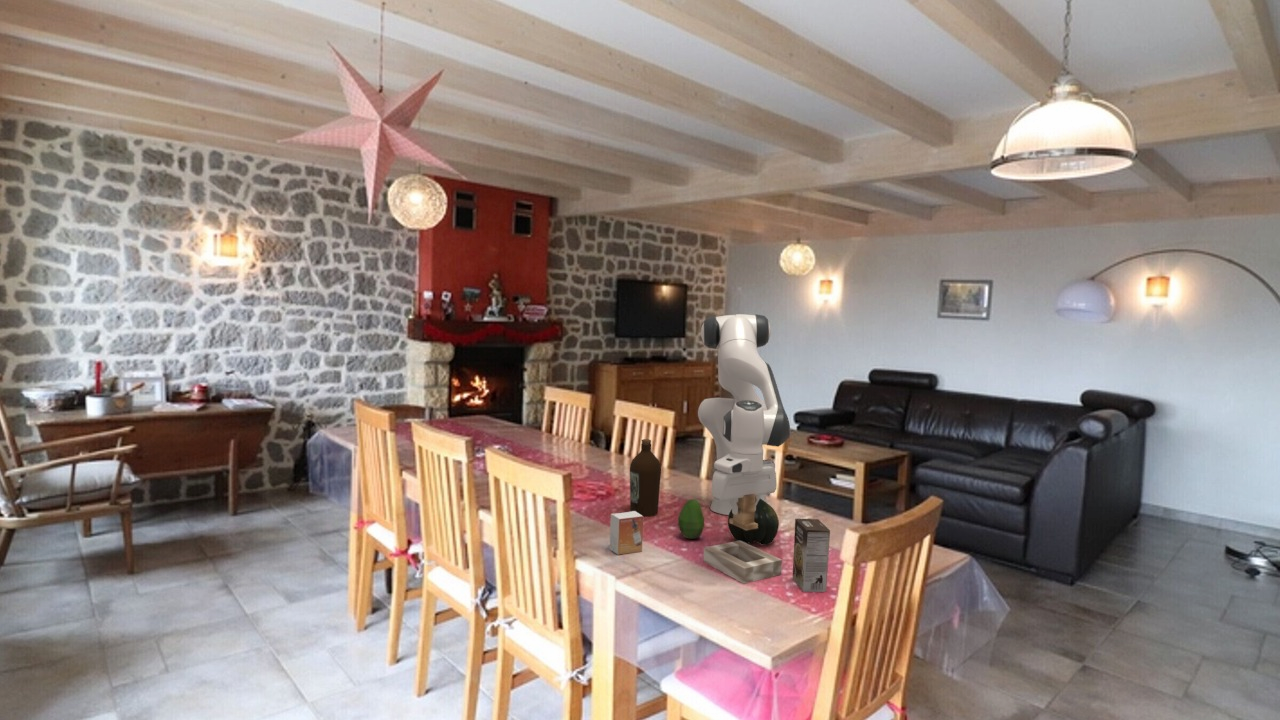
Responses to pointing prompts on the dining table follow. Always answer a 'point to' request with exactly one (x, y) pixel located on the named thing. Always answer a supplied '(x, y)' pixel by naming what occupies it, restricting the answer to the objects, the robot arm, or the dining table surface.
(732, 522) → the tan wooden block
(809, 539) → the coffee box
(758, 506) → the squash
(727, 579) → the dining table surface
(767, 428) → the robot arm
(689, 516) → the avocado
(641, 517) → the small box
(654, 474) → the olive oil
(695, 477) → the dining table surface
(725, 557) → the rectangular frame
